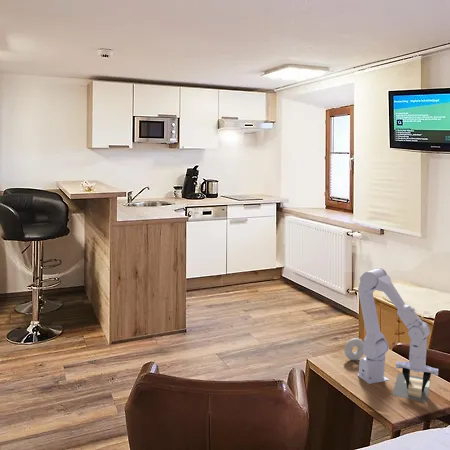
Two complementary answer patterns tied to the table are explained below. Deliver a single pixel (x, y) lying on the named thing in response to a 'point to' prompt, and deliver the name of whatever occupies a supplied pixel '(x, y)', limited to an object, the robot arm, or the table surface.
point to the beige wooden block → (415, 387)
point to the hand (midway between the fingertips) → (415, 389)
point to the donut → (349, 347)
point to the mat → (402, 389)
